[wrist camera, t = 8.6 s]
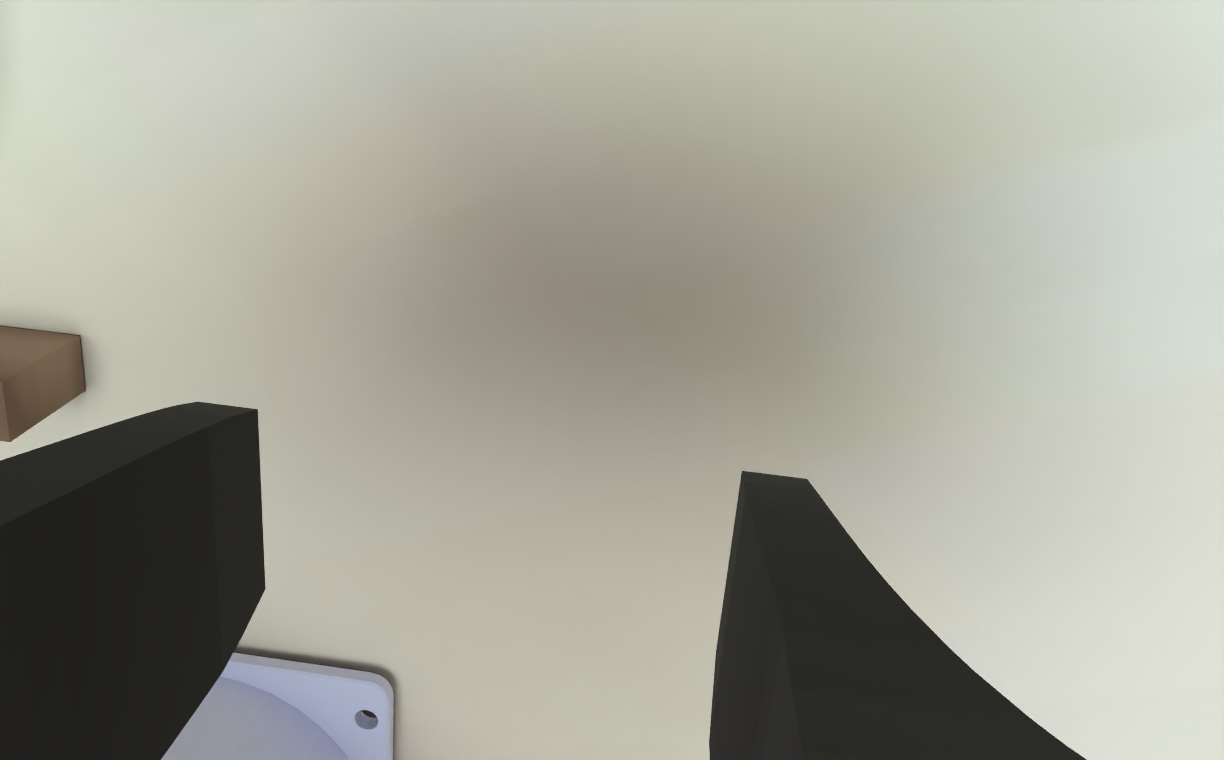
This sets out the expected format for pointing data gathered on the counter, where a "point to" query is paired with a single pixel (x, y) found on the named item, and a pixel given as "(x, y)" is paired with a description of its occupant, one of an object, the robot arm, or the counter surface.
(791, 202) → the counter surface
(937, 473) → the counter surface
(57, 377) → the walnut rail
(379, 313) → the counter surface
